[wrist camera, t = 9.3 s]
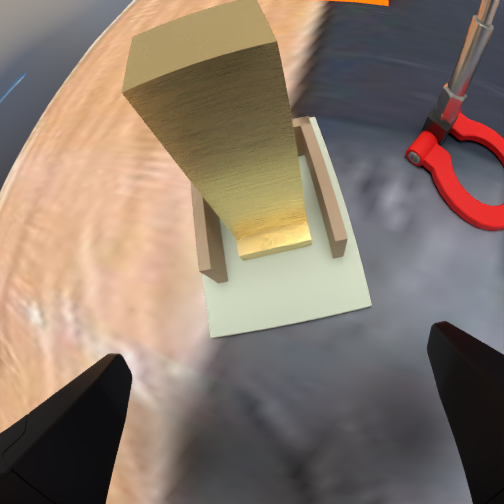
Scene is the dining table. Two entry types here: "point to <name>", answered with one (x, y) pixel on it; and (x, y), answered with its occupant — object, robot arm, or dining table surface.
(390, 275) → the dining table surface
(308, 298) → the pale green slotted base
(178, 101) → the gold square pillar
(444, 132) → the tow hook
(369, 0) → the orange juice
